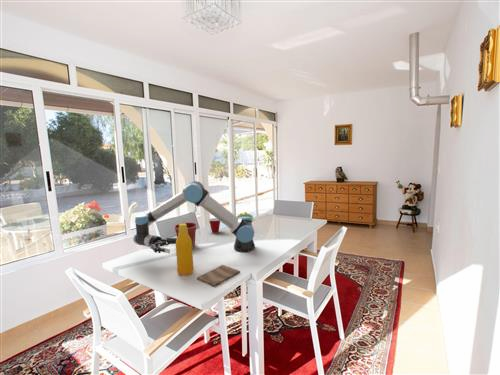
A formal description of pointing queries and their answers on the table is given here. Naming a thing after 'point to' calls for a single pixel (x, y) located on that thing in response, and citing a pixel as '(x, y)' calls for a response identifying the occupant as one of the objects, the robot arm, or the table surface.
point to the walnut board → (218, 275)
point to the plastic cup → (214, 225)
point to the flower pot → (191, 231)
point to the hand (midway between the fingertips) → (178, 247)
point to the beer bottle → (184, 251)
